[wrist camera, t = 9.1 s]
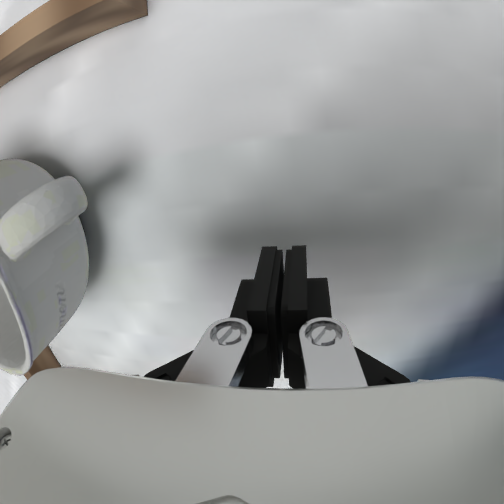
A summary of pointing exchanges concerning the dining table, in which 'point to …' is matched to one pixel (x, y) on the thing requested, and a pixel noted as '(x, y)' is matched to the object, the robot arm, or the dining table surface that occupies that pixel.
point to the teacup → (38, 259)
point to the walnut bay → (51, 42)
